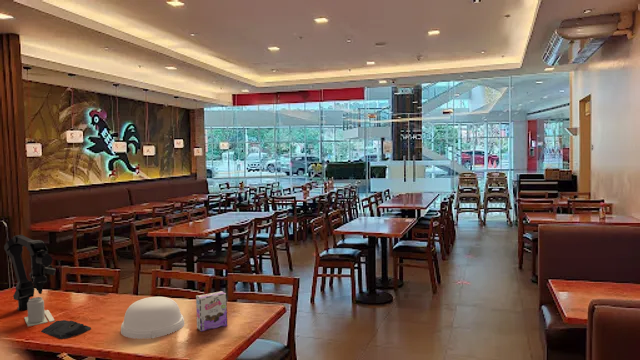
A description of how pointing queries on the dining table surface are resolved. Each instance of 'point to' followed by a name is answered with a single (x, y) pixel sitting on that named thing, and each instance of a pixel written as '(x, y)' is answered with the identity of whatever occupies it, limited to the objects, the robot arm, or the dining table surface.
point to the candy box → (211, 310)
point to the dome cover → (152, 318)
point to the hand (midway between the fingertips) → (39, 292)
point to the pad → (34, 323)
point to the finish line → (49, 315)
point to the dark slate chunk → (65, 329)
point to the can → (36, 310)
